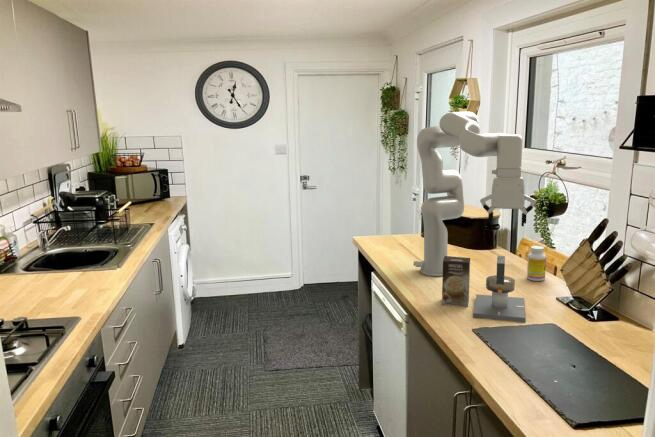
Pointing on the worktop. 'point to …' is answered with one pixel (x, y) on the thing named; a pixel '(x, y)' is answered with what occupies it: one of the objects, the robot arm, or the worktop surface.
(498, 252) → the worktop surface
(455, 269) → the coffee box
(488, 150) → the robot arm
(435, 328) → the worktop surface
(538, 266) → the supplement bottle
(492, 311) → the post base
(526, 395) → the worktop surface
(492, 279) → the rotary knob
